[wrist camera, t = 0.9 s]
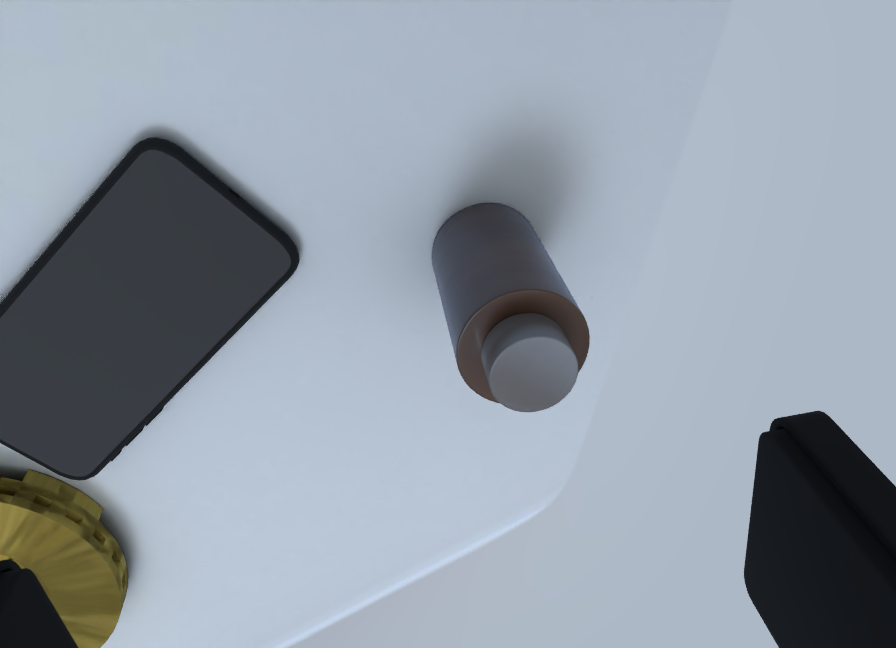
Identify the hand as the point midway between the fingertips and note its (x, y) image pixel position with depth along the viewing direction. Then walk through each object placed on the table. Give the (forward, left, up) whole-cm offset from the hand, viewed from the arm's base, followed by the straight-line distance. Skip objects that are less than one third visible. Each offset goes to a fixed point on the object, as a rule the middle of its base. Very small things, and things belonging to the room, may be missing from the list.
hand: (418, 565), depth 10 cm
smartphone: (+11, -6, -21) cm, 24 cm away
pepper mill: (+2, +6, -21) cm, 22 cm away
